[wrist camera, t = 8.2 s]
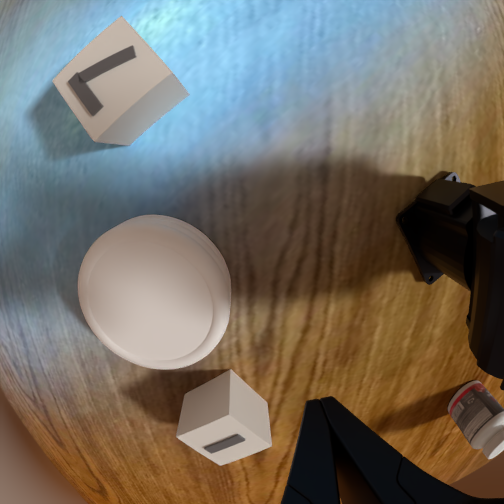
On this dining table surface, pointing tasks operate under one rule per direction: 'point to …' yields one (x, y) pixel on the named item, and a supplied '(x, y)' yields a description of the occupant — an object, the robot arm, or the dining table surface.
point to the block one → (224, 419)
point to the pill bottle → (479, 418)
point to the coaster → (156, 292)
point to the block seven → (118, 86)
